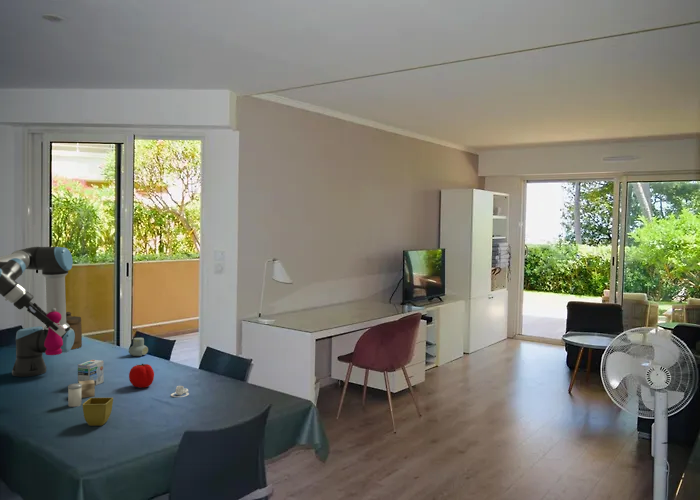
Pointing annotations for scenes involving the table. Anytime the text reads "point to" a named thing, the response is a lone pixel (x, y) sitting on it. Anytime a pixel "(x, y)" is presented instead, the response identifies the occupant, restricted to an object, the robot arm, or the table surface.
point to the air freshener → (138, 347)
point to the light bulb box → (91, 371)
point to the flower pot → (97, 410)
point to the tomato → (141, 375)
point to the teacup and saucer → (180, 391)
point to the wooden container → (75, 329)
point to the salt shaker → (74, 395)
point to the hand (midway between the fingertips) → (63, 333)
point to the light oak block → (87, 388)
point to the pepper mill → (53, 335)
